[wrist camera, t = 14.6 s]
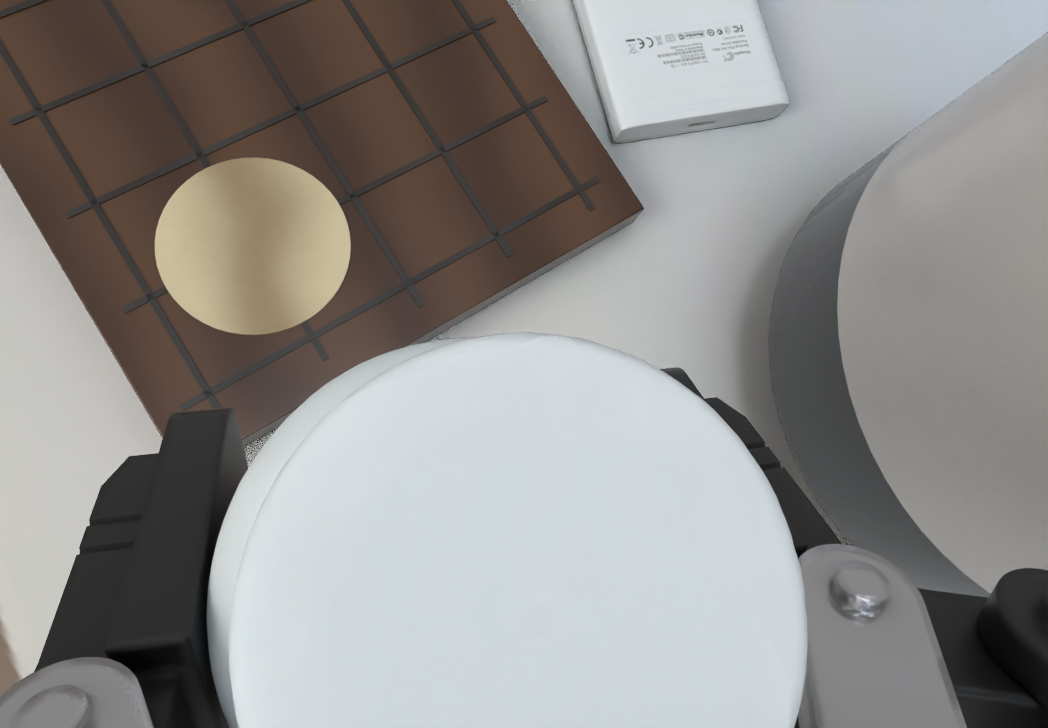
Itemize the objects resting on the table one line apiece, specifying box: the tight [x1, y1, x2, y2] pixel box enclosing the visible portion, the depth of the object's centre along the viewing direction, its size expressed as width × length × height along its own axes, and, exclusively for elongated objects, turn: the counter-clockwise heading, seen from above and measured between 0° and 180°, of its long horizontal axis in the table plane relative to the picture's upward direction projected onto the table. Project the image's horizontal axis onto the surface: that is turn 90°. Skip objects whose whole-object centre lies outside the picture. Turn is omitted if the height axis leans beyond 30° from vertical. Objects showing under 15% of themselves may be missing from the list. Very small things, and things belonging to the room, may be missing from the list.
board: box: [0, 0, 644, 447], centre depth 29 cm, size 20×20×2 cm
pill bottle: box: [206, 332, 808, 728], centre depth 10 cm, size 5×5×10 cm
